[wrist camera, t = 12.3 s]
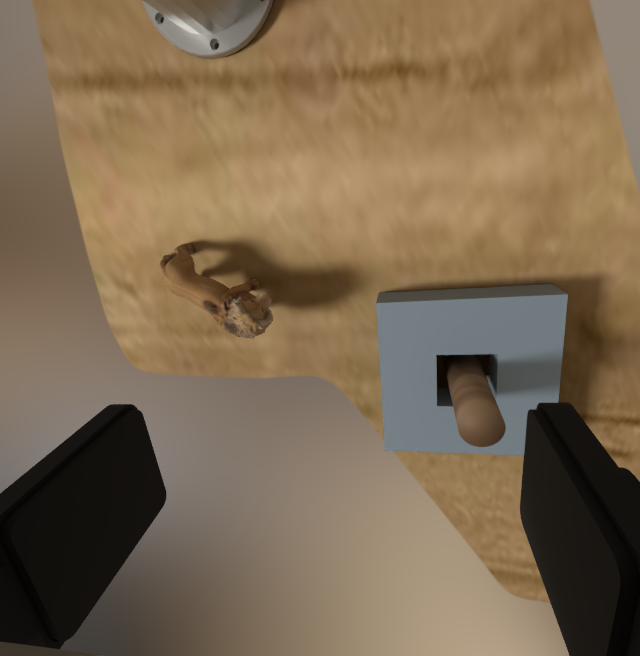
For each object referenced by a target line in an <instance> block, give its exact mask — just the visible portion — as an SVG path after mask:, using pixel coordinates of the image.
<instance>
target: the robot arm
mask: <svg viewBox="0 0 640 656" xmlns="http://www.w3.org/2000/svg"><path fill="white" fill-rule="evenodd" d="M142 2H143V5H144V7H145V9H146V11H147V14H148V16H149V18H150V19H151V21H152V22H153V24H154V25H155V27H156V29H157V30H158V31H159V32H160V33H161V34H162V35H163V36H164V37H165V39H166V40H168V41H169V42H170V43H172V44H173V45H174V46H176V47H177V48H179V49H181V50H182V51H184V52H186V53H188V54H190V55H193V56H196V57H199V58H209V59H213V58H221V57H225V56H228V55H230V54H233V53H235V52H237V51H238V50H240V49H241V48H243V47H244V46H246V45H247V44H248V43H249V42H250V41H251V40H252V39H253V38H254V37H255V36H256V35H257V33H258V32H259V30H260V29H261V27H262V26H263V24H264V23H265V21H266V19H267V17H268V14H269V12H270V10H271V7H272V4H273V0H264V1H262V0H142ZM163 21H164V22H163ZM217 45H219V47H218V49H217ZM165 501H166V490H165V486H164V483H163V480H162V476H161V473H160V470H159V467H158V463H157V460H156V456H155V454H154V450H153V447H152V443H151V440H150V437H149V433H148V430H147V427H146V424H145V420H144V417H143V414H142V412H141V411H139V410H137V408H136V407H135V406H134V405H132V404H129V405H128V404H123V405H122V404H121V405H120V404H117V405H116V404H114V405H109V406H107V407H106V408H105V409H103V410H102V411H101V412H100V413H98V414H97V415H96V416H95V417H93V418H92V419H91V420H90V421H89V422H88V423H86V424H85V425H84V426H82V427H81V428H80V429H79V430H78V431H76V432H75V433H74V434H73V435H72V436H70V437H69V438H68V439H67V440H65V441H64V442H63V443H62V444H60V445H59V446H58V447H57V448H56V449H54V450H53V451H52V452H51V453H49V454H48V455H47V456H46V457H45V458H44V459H42V460H41V461H40V462H38V463H37V464H36V465H35V466H34V467H32V468H31V469H30V470H29V471H28V472H26V473H25V474H24V475H22V476H21V477H20V478H19V479H18V480H16V481H15V482H14V483H13V484H12V485H10V486H9V487H8V488H7V489H5V490H4V491H3V492H2V493H1V494H0V656H106V655H99V654H91V653H83V652H76V651H68V650H61V649H60V648H61V646H62V645H63V643H64V642H65V641H66V640H68V639H70V638H71V637H72V636H73V635H74V634H75V633H76V632H77V630H78V628H79V627H80V626H81V624H82V623H83V621H84V620H85V619H86V617H87V616H88V614H89V613H90V611H91V610H92V608H93V607H94V606H95V604H96V602H97V601H98V600H99V598H100V597H101V595H102V594H103V593H104V591H105V590H106V588H107V587H108V585H109V584H110V582H111V581H112V579H113V578H114V576H115V575H116V574H117V572H118V571H119V569H120V568H121V567H122V565H123V564H124V562H125V561H126V559H127V558H128V556H129V555H130V554H131V552H132V550H133V549H134V548H135V546H136V545H137V543H138V542H139V540H140V539H141V538H142V536H143V535H144V533H145V532H146V530H147V529H148V527H149V526H150V525H151V523H152V522H153V520H154V519H155V517H156V516H157V515H158V513H159V512H160V510H161V509H162V507H163V505H164V503H165ZM520 514H521V520H522V524H523V527H524V530H525V533H526V535H527V538H528V541H529V544H530V546H531V549H532V552H533V555H534V558H535V560H536V563H537V566H538V569H539V572H540V574H541V577H542V580H543V583H544V585H545V588H546V591H547V594H548V597H549V599H550V602H551V605H552V608H553V610H554V613H555V616H556V619H557V621H558V624H559V627H560V630H561V633H562V636H563V638H564V641H565V644H566V647H567V649H568V652H569V655H570V656H640V482H639V481H638V479H637V478H636V477H635V476H634V475H633V474H632V473H631V472H630V471H629V470H627V469H625V468H619V467H618V466H617V465H616V463H615V462H614V461H613V459H612V458H611V457H610V455H609V454H608V453H607V451H606V450H605V449H604V447H603V446H602V445H601V443H600V442H599V441H598V439H597V438H596V437H595V435H594V434H593V433H592V431H591V430H590V429H589V427H588V426H587V425H586V423H585V422H584V421H583V419H582V418H581V417H580V415H579V414H578V413H577V411H576V410H575V409H574V407H573V406H572V405H571V404H570V403H539V404H538V405H537V408H536V409H530V410H529V411H528V414H527V425H526V437H525V450H524V463H523V476H522V489H521V502H520Z"/></svg>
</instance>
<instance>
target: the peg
mask: <svg viewBox="0 0 640 656" xmlns="http://www.w3.org/2000/svg"><path fill="white" fill-rule="evenodd" d="M444 366H445V371H446V375H447V380H448V385H449V389H450V394H451V399H452V403H453V408H454V413H455V417H456V422H457V427H458V431H459V434H460V436H461V438H462V439H463V440H464V441H465V442H467V443H468V444H470V445H472V446H476V447H488V446H492V445H494V444H496V443H497V442H499V441H500V440H501V439H502V437H503V436H504V434H505V430H506V425H505V422H504V419H503V417H502V415H501V412H500V410H499V407H498V405H497V403H496V400H495V398H494V396H493V393H492V391H491V388H490V386H489V384H488V381H487V379H486V377H485V374H484V372H483V369H482V367H481V365H480V362H479V360H478V358H477V356H476V355H475V354H474V355H448V356H447V357H446V359H445V363H444Z"/></svg>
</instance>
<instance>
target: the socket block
mask: <svg viewBox="0 0 640 656" xmlns="http://www.w3.org/2000/svg"><path fill="white" fill-rule="evenodd" d="M567 301H568V294H567V293H565V292H564V291H562V290H561V289H559V288H558V287H556V286H555V285H553V284H539V285H519V286H500V287H481V288H461V289H442V290H423V291H403V292H384V293H379V294H378V298H377V302H376V309H377V326H378V342H379V359H380V375H381V392H382V408H383V425H384V441H385V451H410V452H439V453H469V454H499V455H524V450H525V437H526V425H527V414H528V411H529V410H530V409H536V408H537V405H538V404H539V403H558V401H559V390H560V379H561V368H562V357H563V346H564V335H565V323H566V312H567ZM474 354H489V378H488V384H489V386H490V388H491V391H492V393H493V396H494V398H495V400H496V403H497V405H498V407H499V410H500V412H501V415H502V417H503V419H504V422H505V425H506V430H505V434H504V436H503V437H502V439H501V440H500V441H499V442H497V443H496V444H494V445H492V446H488V447H476V446H472V445H470V444H468V443H467V442H465V441H464V440H463V439H462V438H461V436H460V434H459V431H458V427H457V422H456V417H455V413H454V408H453V403H452V399H451V394H450V389H449V388H437V367H436V355H474Z"/></svg>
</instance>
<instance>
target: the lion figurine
mask: <svg viewBox="0 0 640 656" xmlns="http://www.w3.org/2000/svg"><path fill="white" fill-rule="evenodd" d="M175 252H176V253H177V255H176V257H175V258H173V257H172V256H171V255H165V256H164V257H163V259H162V260H161V262H160V264H159V270H160V273H161V275H162V281H163V283H164V285H165V286H166V287H167V288H168V289H169V290H170V291H171V292H172V293H174V294H176V295H178V296H181V297H183V298H185V299H187V300H189V301H191V302H192V303H194V304H195V305H197V306H198V307H200V308H202V309H203V310H205V311H207V312H208V313H210V314H211V315H212V316H213V317H214V319H215V320H217V324H219V325H220V326H221V327H222V329H225V330H227V331H228V332H229V333H231V334H234V335H236V336H238V337H240V336H241V337H244V338H250V339H253V338H254V337H255V336H258V335H260V334H262V333H264V332H265V329H266V328H267V327H268V326H269V325H270V324H271V322H272V321H273V316H272V314H271V311H270V310H269V308H268V306H269V305H270V304H271V302H272V301H271V298H270V297H269V295H268V294H267V293H265V292H261V293H259V294H258V295H257V297H256V296H254V295H252V294H250V293H248V292H249V291H251V290H257V289H258V288H259V287H260V285H259V282H258V280H257V279H252V280H249V281H247V282H246V283H244V284H242V285H238V286H235V287H232V288H231V289H229V288H228V287H226V286H225V285H223V284H221V283H220V282H217V281H216V280H214V279H211V278H209V277H205V276H201V275H198V274H197V273H196V272H195V268H194V261H193V258H192V257H191V254H192V253H194V247H193V245H191V244H188V243H186V244H182V245H180V246H178V247H177V248H176V249H175Z"/></svg>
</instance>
